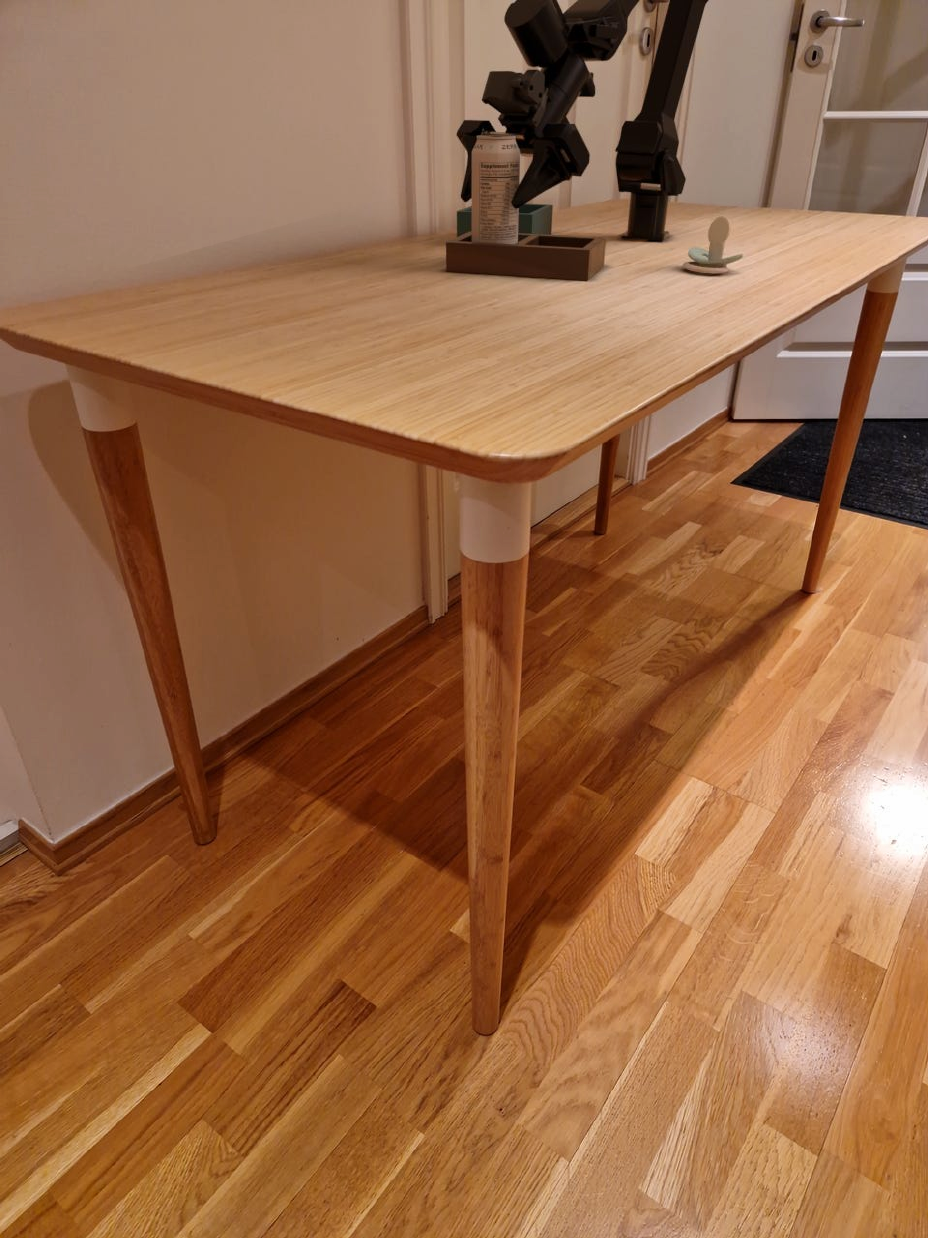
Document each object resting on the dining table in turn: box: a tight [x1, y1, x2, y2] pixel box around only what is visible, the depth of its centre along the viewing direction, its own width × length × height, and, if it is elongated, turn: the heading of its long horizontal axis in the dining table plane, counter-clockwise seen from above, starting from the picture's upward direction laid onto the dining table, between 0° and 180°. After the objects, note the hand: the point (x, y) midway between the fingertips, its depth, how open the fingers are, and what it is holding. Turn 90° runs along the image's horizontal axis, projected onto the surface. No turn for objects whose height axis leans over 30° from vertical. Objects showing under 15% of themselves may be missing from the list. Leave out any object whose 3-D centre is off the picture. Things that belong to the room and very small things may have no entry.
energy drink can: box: [471, 135, 521, 244], centre depth 106 cm, size 6×6×15 cm
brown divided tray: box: [445, 231, 607, 282], centre depth 108 cm, size 10×19×4 cm, turn 70°
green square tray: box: [456, 203, 554, 238], centre depth 127 cm, size 12×12×4 cm
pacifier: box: [681, 216, 744, 274], centre depth 106 cm, size 7×6×6 cm
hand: (487, 202), depth 106 cm, fingers open, 9 cm apart
